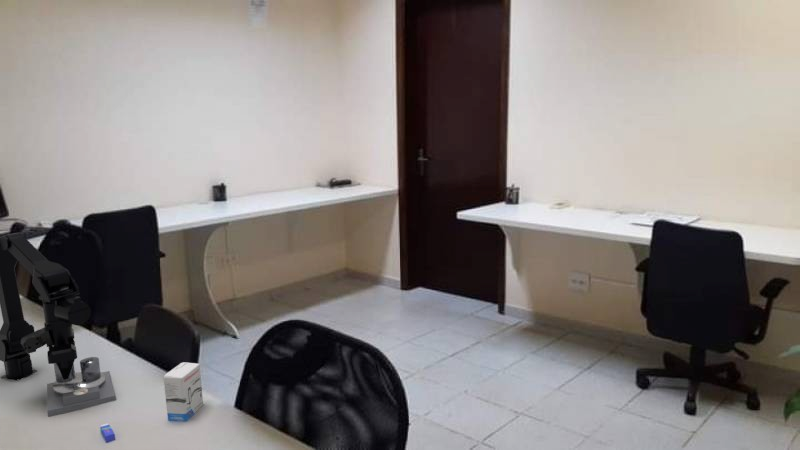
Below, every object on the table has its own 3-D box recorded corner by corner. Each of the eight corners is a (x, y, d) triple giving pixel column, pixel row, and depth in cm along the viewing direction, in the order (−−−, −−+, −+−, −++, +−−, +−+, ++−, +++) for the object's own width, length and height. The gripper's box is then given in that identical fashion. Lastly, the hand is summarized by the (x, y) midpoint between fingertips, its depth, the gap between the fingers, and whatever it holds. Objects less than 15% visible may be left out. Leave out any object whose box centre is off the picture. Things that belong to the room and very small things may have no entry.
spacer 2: (91, 373, 164) (89, 356, 163) (104, 375, 163) (102, 357, 162) (78, 380, 160) (75, 362, 159) (92, 382, 159) (89, 364, 158)
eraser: (109, 430, 142) (108, 422, 142) (115, 441, 137) (114, 433, 137) (100, 433, 141) (99, 425, 141) (106, 444, 136) (105, 436, 136)
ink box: (186, 425, 143) (181, 378, 141) (166, 423, 144) (162, 376, 142) (204, 407, 152) (200, 362, 149) (186, 405, 153) (182, 361, 150)
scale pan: (53, 382, 163) (52, 377, 163) (103, 372, 169) (102, 367, 168) (54, 401, 153) (53, 395, 152) (107, 389, 158) (106, 384, 158)
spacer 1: (64, 374, 161) (61, 356, 160) (79, 375, 160) (77, 357, 159) (52, 382, 157) (49, 363, 156) (67, 383, 156) (65, 364, 155)
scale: (47, 389, 163) (45, 375, 162) (110, 375, 170) (108, 363, 169) (48, 416, 148) (46, 402, 148) (116, 401, 156) (114, 387, 155)
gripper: (21, 312, 159) (29, 369, 163) (19, 336, 144) (28, 398, 147) (70, 305, 165) (77, 360, 168) (73, 326, 149) (81, 386, 152)
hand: (65, 375), depth 159 cm, fingers closed on spacer 1, 4 cm apart
